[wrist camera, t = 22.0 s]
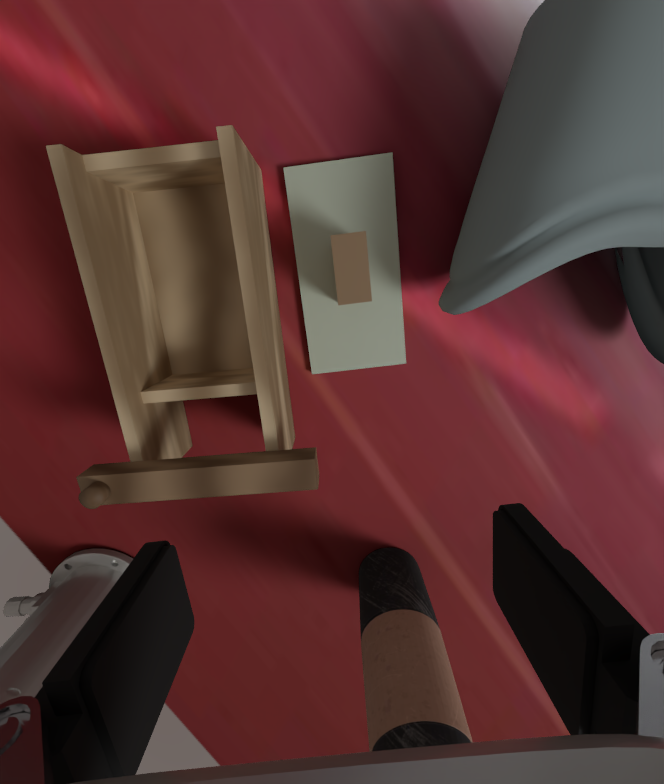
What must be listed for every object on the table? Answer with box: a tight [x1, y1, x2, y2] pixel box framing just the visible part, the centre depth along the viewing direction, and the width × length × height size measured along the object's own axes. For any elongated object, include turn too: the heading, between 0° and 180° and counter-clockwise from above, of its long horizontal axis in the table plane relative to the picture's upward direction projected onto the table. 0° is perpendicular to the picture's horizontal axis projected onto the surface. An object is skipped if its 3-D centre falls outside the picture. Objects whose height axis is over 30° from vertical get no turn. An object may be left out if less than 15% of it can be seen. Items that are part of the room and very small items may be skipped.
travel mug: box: [359, 548, 473, 752], centre depth 33 cm, size 8×8×20 cm
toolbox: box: [46, 125, 295, 462], centre depth 31 cm, size 12×25×9 cm, turn 5°
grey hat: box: [439, 0, 664, 364], centre depth 26 cm, size 22×19×13 cm
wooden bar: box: [76, 448, 319, 509], centre depth 28 cm, size 18×2×3 cm, turn 95°
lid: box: [283, 152, 406, 374], centre depth 31 cm, size 9×18×7 cm, turn 7°
